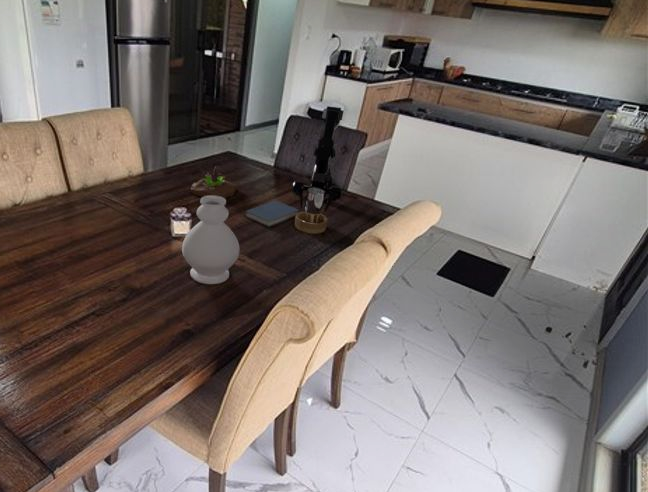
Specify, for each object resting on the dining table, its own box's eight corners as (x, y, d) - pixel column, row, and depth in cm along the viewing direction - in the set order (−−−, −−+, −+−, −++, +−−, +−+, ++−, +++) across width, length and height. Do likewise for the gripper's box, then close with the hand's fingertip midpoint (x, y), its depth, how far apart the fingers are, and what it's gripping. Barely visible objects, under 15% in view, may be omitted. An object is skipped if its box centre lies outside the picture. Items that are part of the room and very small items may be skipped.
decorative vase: (195, 293, 137) (197, 216, 123) (173, 266, 150) (173, 193, 136) (247, 282, 144) (254, 207, 130) (222, 256, 157) (226, 186, 143)
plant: (242, 188, 214) (244, 165, 208) (225, 202, 199) (226, 176, 193) (204, 180, 220) (205, 157, 214) (184, 192, 205) (185, 168, 199)
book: (274, 205, 199) (275, 200, 198) (298, 215, 192) (299, 209, 190) (245, 216, 187) (245, 210, 186) (269, 227, 180) (270, 221, 179)
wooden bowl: (288, 222, 185) (290, 213, 183) (314, 218, 190) (315, 209, 187) (305, 235, 176) (307, 225, 173) (331, 231, 181) (333, 221, 178)
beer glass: (318, 224, 185) (324, 188, 177) (319, 231, 180) (326, 194, 171) (301, 222, 186) (306, 186, 177) (301, 229, 180) (307, 192, 172)
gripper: (297, 159, 175) (289, 197, 172) (346, 166, 171) (339, 204, 168) (296, 174, 185) (289, 209, 182) (343, 180, 182) (336, 216, 179)
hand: (312, 209), depth 178 cm, fingers open, 9 cm apart
